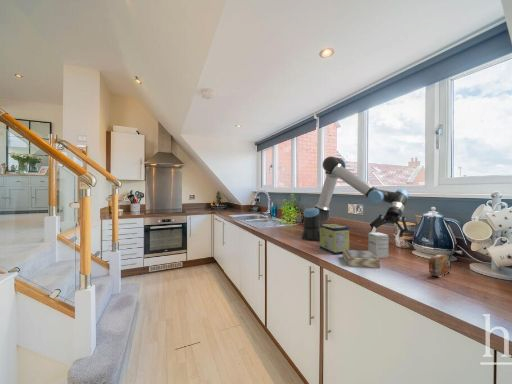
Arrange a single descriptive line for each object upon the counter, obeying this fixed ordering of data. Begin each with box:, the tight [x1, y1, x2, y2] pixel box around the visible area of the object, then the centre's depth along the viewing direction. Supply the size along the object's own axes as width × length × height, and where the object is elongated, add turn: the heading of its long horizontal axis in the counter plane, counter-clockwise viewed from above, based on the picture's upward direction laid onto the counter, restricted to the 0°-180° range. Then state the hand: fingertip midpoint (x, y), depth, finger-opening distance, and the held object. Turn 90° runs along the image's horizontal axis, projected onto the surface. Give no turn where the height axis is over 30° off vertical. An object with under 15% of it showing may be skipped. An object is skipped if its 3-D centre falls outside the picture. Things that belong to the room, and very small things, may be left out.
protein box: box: [319, 223, 350, 255], centre depth 127 cm, size 10×16×16 cm
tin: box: [428, 253, 452, 278], centre depth 90 cm, size 15×3×8 cm, turn 117°
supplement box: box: [367, 231, 389, 259], centre depth 116 cm, size 7×7×13 cm
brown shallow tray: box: [342, 249, 381, 269], centre depth 107 cm, size 14×14×4 cm
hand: (383, 238), depth 117 cm, fingers open, 13 cm apart
